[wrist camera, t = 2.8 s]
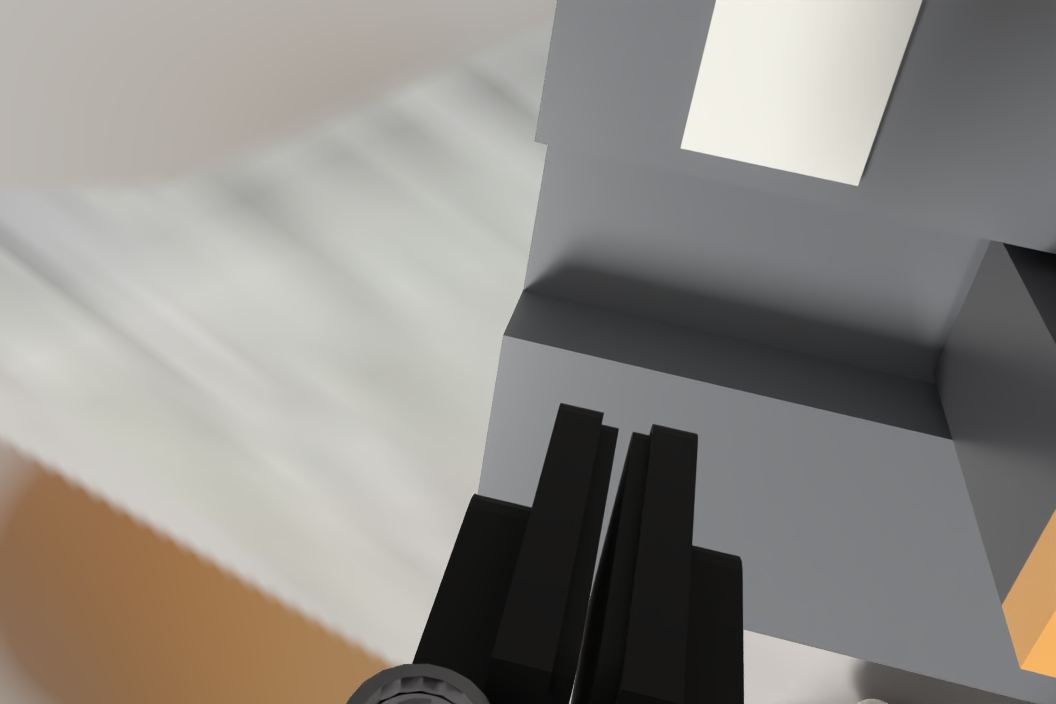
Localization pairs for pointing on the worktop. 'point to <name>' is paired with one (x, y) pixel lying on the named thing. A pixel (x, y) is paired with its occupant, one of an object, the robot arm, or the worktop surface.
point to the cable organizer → (872, 701)
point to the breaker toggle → (1010, 434)
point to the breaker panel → (789, 291)
